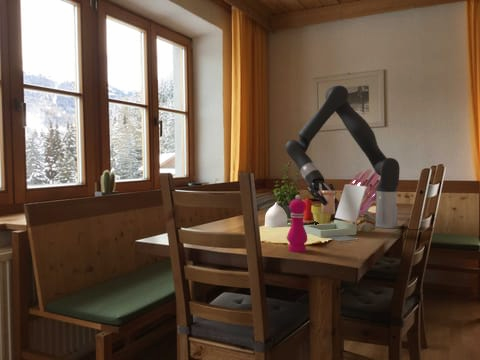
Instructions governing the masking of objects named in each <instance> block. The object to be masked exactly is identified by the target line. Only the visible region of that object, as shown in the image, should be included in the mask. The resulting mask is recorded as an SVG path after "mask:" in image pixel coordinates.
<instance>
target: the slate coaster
mask: <svg viewBox="0 0 480 360" xmlns="http://www.w3.org/2000/svg"><path fill="white" fill-rule="evenodd" d="M326 238H327V239H330V240H334V241H337V242H340V243H342V242H346V244H348V243H351V242H352V241H359V239H358V238H356V237H352V236H350V235H341V236H329V237H326Z"/></svg>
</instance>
